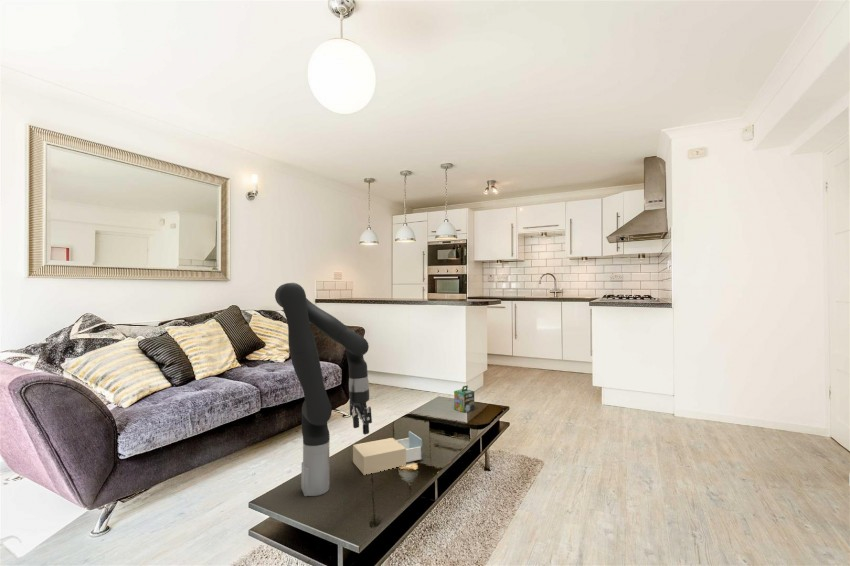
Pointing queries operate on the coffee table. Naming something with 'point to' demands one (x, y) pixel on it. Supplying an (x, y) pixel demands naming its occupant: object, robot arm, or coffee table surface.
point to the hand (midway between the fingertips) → (361, 430)
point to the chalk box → (464, 400)
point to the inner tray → (412, 447)
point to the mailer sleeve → (378, 455)
